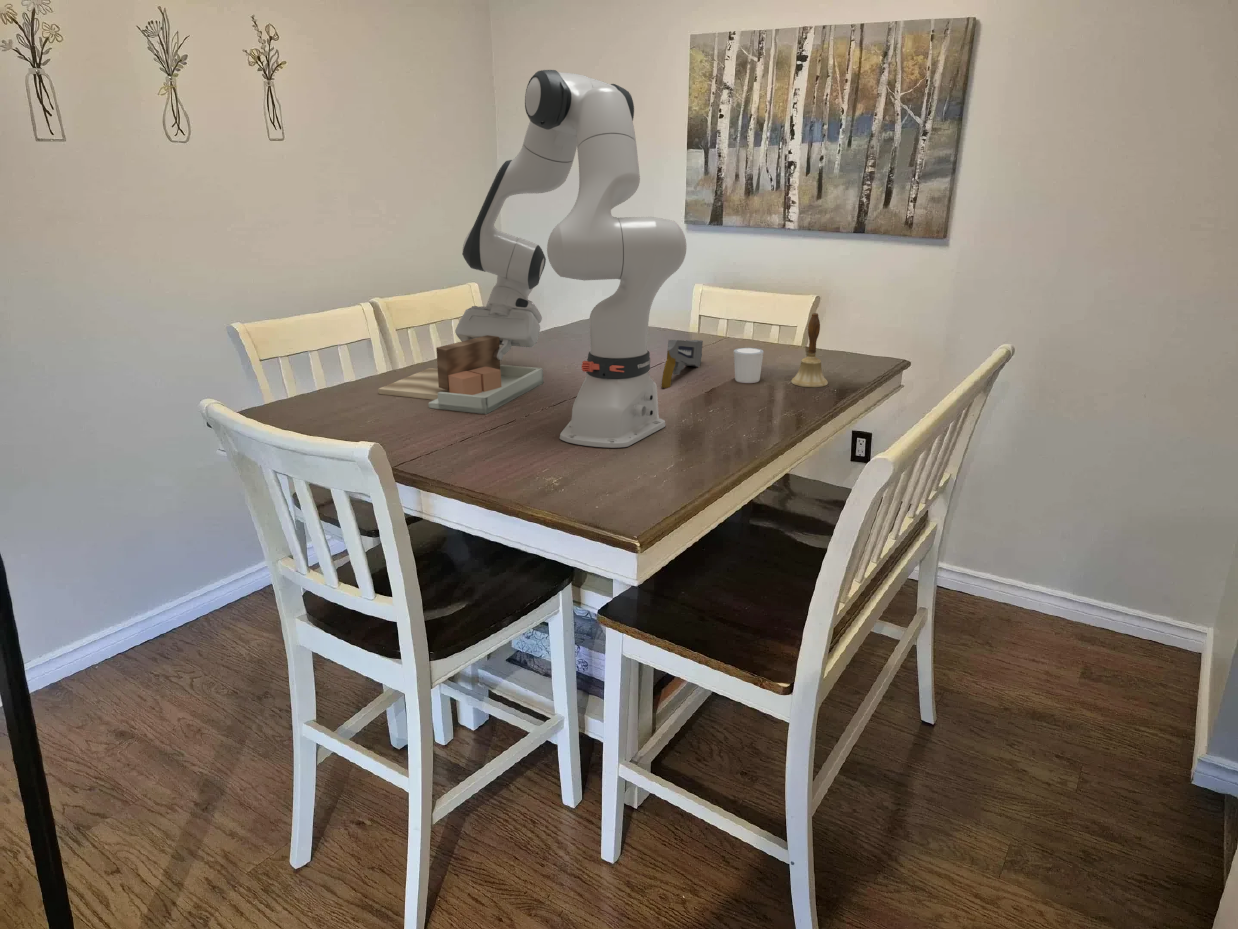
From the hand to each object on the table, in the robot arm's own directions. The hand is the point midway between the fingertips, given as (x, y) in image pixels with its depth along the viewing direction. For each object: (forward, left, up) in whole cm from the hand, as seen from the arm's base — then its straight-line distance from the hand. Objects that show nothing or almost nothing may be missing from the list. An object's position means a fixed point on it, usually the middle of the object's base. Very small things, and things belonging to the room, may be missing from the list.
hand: (487, 358), depth 191 cm
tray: (-8, -4, -6) cm, 11 cm away
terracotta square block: (-6, -3, -5) cm, 8 cm away
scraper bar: (-5, +2, -4) cm, 7 cm away
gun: (+23, -39, -7) cm, 46 cm away
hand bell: (+25, -69, -6) cm, 74 cm away
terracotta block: (-11, -1, -5) cm, 12 cm away
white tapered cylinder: (+23, -55, -6) cm, 61 cm away
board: (-5, +11, -6) cm, 14 cm away
